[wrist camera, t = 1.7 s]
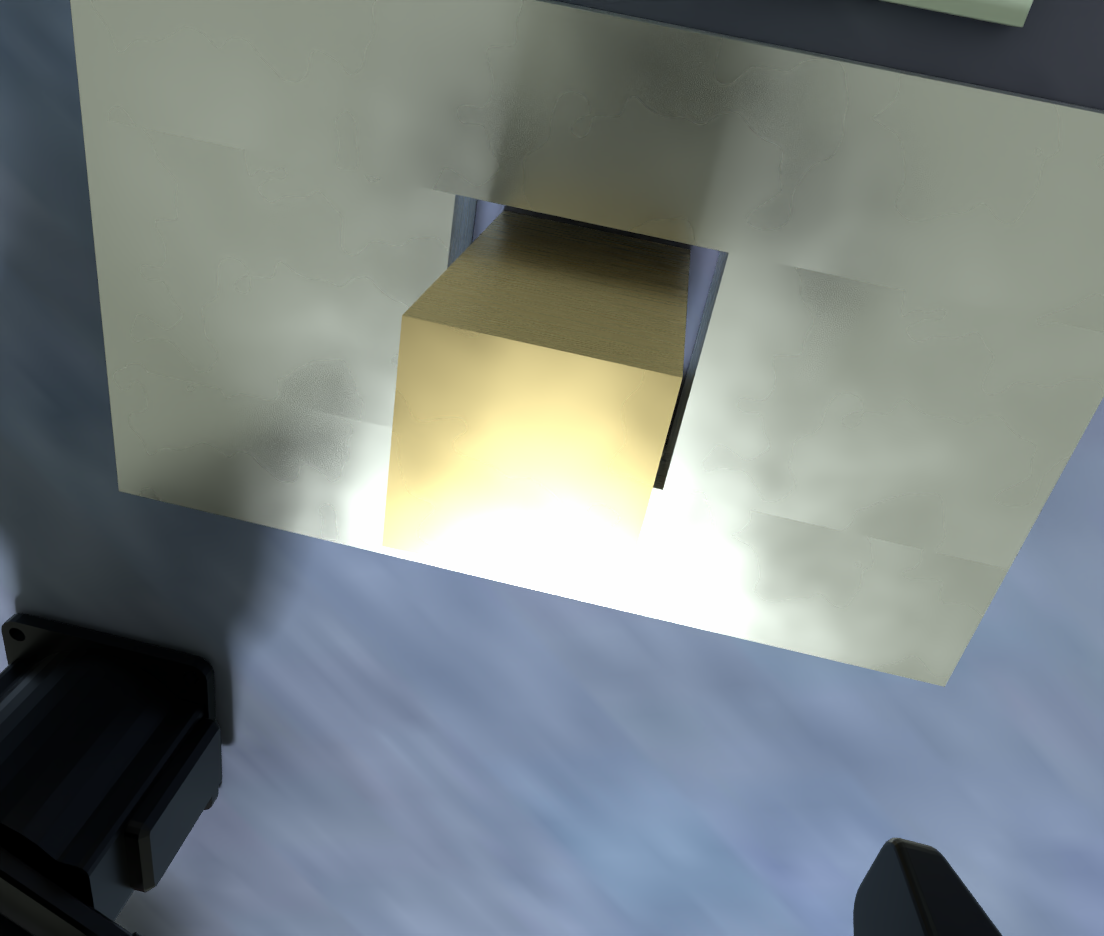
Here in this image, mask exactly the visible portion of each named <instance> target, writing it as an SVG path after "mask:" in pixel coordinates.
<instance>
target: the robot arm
mask: <svg viewBox="0 0 1104 936" xmlns="http://www.w3.org/2000/svg"><path fill="white" fill-rule="evenodd" d="M2 635H3V640H4V645H5V650H6V655H7V660H8V666H7V667H6V668H5V669H4V670H3V671H2V672H1V673H0V936H141V935H140V934H138V933H137V932H135V933H133V934H131V933H130V932H128V931H127V930H125V929H124V928H122V927H121V926H119V925H118V924H116V923H115V922H114V921H115V919H116V918H117V916H118V915H119V913H120V911H121V910H122V908H123V907H124V905H125V904H126V902H127V901H128V899H129V897H130V896H131V894H132V893H133V891H134V890H138V891H142V892H147V891H149V890H151V889H152V888H154V887H155V886H157V884H158V883H159V881H160V879H161V878H162V876H163V874H164V873H165V871H166V870H167V868H168V866H169V865H170V863H171V862H172V860H173V858H174V857H175V855H176V854H177V852H178V850H179V849H180V847H181V845H182V844H183V842H184V841H185V839H186V837H187V836H188V834H189V833H190V831H191V829H192V828H193V826H194V824H195V823H196V821H197V820H198V818H199V816H200V815H201V813H202V812H203V810H207V809H209V808H211V807H212V805H213V804H214V802H215V800H216V799H217V797H218V786H219V784H220V782H221V780H222V763H221V734H220V727H219V725H218V723H217V720H216V715H215V689H214V671H213V668H212V666H211V665H210V664H209V662H207V661H206V660H205V659H203V658H201V657H198V656H194V655H190V654H186V653H182V652H178V651H174V650H170V649H166V648H162V647H158V646H154V645H150V644H146V643H141V642H137V641H133V640H129V639H125V638H121V637H117V636H113V635H109V634H105V633H101V632H97V631H93V630H89V629H85V628H81V627H76V626H72V625H68V624H64V623H60V622H56V621H52V620H48V619H44V618H40V617H36V616H32V615H28V614H23V613H17V614H14V615H13V616H12V617H11V618H9V619H8V620H7V621H6V622H5V623H4V624H3V625H2ZM853 924H854V936H1002V935H1001V933H1000V932H999V930H998V929H997V928H996V926H995V925H994V924H993V922H992V921H991V920H990V918H989V917H988V916H987V914H986V913H985V912H984V910H983V909H982V907H981V906H980V905H979V903H978V902H977V901H976V899H975V898H974V897H973V895H972V894H971V893H970V891H969V890H968V889H967V887H966V886H965V884H964V883H963V882H962V880H961V879H960V878H959V876H958V875H957V874H956V872H955V871H954V870H953V868H952V867H951V866H950V864H949V863H948V861H947V860H946V859H945V857H944V856H943V855H942V854H941V853H940V852H939V851H938V850H937V849H935V848H933V847H931V846H928V845H925V844H921V843H917V842H913V841H909V840H905V839H901V838H892V839H890V840H888V841H886V843H885V844H884V845H883V847H882V848H881V850H880V852H879V854H878V855H877V857H876V859H875V860H874V862H873V864H872V866H871V867H870V869H869V871H868V873H867V874H866V876H865V878H864V879H863V881H862V883H861V885H860V887H859V889H858V891H857V894H856V897H855V903H854V911H853Z"/></svg>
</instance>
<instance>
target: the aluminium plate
mask: <svg viewBox="0 0 1104 936" xmlns="http://www.w3.org/2000/svg"><path fill="white" fill-rule="evenodd" d="M70 3H71V13H72V24H73V34H74V44H75V54H76V64H77V74H78V84H79V94H80V104H81V114H82V124H83V134H84V144H85V154H86V164H87V174H88V185H89V195H90V205H91V215H92V225H93V235H94V245H95V255H96V265H97V275H98V285H99V295H100V305H101V315H102V325H103V335H104V346H105V356H106V366H107V376H108V386H109V396H110V406H111V416H112V426H113V436H114V446H115V456H116V466H117V476H118V486H119V491H120V492H125V493H129V494H133V495H137V496H141V497H146V498H150V499H154V500H158V501H163V502H167V503H171V504H175V505H180V506H184V507H188V508H192V509H196V510H201V511H205V512H209V513H213V514H218V515H222V516H226V517H230V518H234V519H239V520H243V521H247V522H251V523H256V524H260V525H264V526H268V527H272V528H277V529H281V530H285V531H289V532H294V533H298V534H302V535H306V536H310V537H315V538H319V539H323V540H327V541H332V542H336V543H340V544H344V545H348V546H353V547H357V548H361V549H365V550H370V551H374V552H378V553H382V554H386V555H391V556H395V557H399V558H403V559H408V560H412V561H416V562H420V563H425V564H429V565H433V566H437V567H441V568H446V569H450V570H454V571H458V572H463V573H467V574H471V575H475V576H479V577H484V578H488V579H492V580H496V581H501V582H505V583H509V584H513V585H517V586H522V587H526V588H530V589H534V590H539V591H543V592H547V593H551V594H555V595H560V596H564V597H568V598H572V599H577V600H581V601H585V602H589V603H593V604H598V605H602V606H606V607H610V608H615V609H619V610H623V611H627V612H631V613H636V614H640V615H644V616H648V617H653V618H657V619H661V620H665V621H669V622H674V623H678V624H682V625H686V626H691V627H695V628H699V629H703V630H708V631H712V632H716V633H720V634H724V635H729V636H733V637H737V638H741V639H746V640H750V641H754V642H758V643H762V644H767V645H771V646H775V647H779V648H784V649H788V650H792V651H796V652H800V653H805V654H809V655H813V656H817V657H822V658H826V659H830V660H834V661H838V662H843V663H847V664H851V665H855V666H860V667H864V668H868V669H872V670H876V671H881V672H885V673H889V674H893V675H898V676H902V677H906V678H910V679H914V680H919V681H923V682H927V683H931V684H936V685H940V686H944V687H945V685H946V683H947V681H948V680H949V678H950V676H951V674H952V672H953V670H954V669H955V667H956V665H957V663H958V661H959V660H960V658H961V656H962V654H963V652H964V650H965V649H966V647H967V645H968V643H969V641H970V639H971V638H972V636H973V634H974V632H975V630H976V628H977V627H978V625H979V623H980V621H981V619H982V618H983V616H984V614H985V612H986V610H987V608H988V607H989V605H990V603H991V601H992V599H993V597H994V596H995V594H996V592H997V590H998V588H999V587H1000V585H1001V583H1002V581H1003V579H1004V577H1005V576H1006V574H1007V572H1008V570H1009V568H1010V566H1011V565H1012V563H1013V561H1014V559H1015V557H1016V555H1017V554H1018V552H1019V550H1020V548H1021V546H1022V545H1023V543H1024V541H1025V539H1026V537H1027V535H1028V534H1029V532H1030V530H1031V528H1032V526H1033V524H1034V523H1035V521H1036V519H1037V517H1038V515H1039V513H1040V512H1041V510H1042V508H1043V506H1044V504H1045V503H1046V501H1047V499H1048V497H1049V495H1050V493H1051V492H1052V490H1053V488H1054V486H1055V484H1056V482H1057V481H1058V479H1059V477H1060V475H1061V473H1062V471H1063V470H1064V468H1065V466H1066V464H1067V462H1068V461H1069V459H1070V457H1071V455H1072V453H1073V451H1074V450H1075V448H1076V446H1077V444H1078V442H1079V440H1080V439H1081V437H1082V435H1083V433H1084V431H1085V430H1086V428H1087V426H1088V424H1089V422H1090V420H1091V419H1092V417H1093V415H1094V413H1095V411H1096V409H1097V408H1098V406H1099V404H1100V402H1101V400H1102V398H1103V397H1104V110H1099V109H1094V108H1089V107H1084V106H1079V105H1074V104H1069V103H1064V102H1059V101H1054V100H1049V99H1044V98H1039V97H1034V96H1029V95H1024V94H1019V93H1014V92H1009V91H1004V90H999V89H994V88H989V87H984V86H979V85H974V84H969V83H964V82H959V81H954V80H949V79H944V78H939V77H934V76H929V75H924V74H919V73H914V72H909V71H904V70H899V69H894V68H889V67H884V66H879V65H874V64H869V63H864V62H859V61H854V60H849V59H844V58H839V57H834V56H829V55H824V54H819V53H814V52H809V51H804V50H799V49H794V48H789V47H784V46H779V45H774V44H769V43H764V42H759V41H754V40H749V39H744V38H739V37H734V36H729V35H724V34H719V33H714V32H709V31H704V30H699V29H694V28H689V27H684V26H679V25H674V24H669V23H664V22H659V21H654V20H649V19H644V18H639V17H634V16H629V15H624V14H619V13H614V12H609V11H604V10H599V9H594V8H588V7H583V6H578V5H573V4H568V3H563V2H558V1H553V0H70ZM477 199H479V200H484V201H488V202H493V203H498V204H502V205H507V206H512V207H517V208H521V209H526V210H531V211H535V212H540V213H545V214H549V215H554V216H559V217H563V218H568V219H573V220H578V221H582V222H587V223H592V224H596V225H601V226H606V227H610V228H615V229H620V230H624V231H629V232H634V233H639V234H643V235H648V236H653V237H657V238H662V239H667V240H671V241H676V242H681V243H685V244H690V245H695V246H700V247H704V248H709V249H714V250H718V251H720V253H719V257H718V261H717V264H716V268H715V272H714V275H713V279H712V283H711V286H710V290H709V294H708V297H707V301H706V305H705V308H704V312H703V316H702V319H701V323H700V327H699V331H698V334H697V338H696V342H695V345H694V349H693V353H692V356H691V360H690V364H689V367H688V371H687V375H686V378H685V382H684V386H683V389H682V393H681V397H680V400H679V404H678V408H677V411H676V415H675V419H674V422H673V426H672V430H671V433H670V437H669V441H668V444H667V448H666V447H664V448H663V452H662V456H661V459H660V463H659V467H658V470H657V474H656V478H655V481H654V485H653V489H652V493H651V496H650V500H649V504H648V507H647V511H646V515H645V518H644V522H643V526H642V530H641V533H640V537H639V541H638V544H637V548H636V552H635V555H634V559H633V563H632V567H631V570H630V574H629V578H628V581H627V585H626V589H625V592H624V596H623V600H622V603H620V602H615V601H611V600H607V599H603V598H599V597H594V596H590V595H586V594H582V593H578V592H573V591H569V590H565V589H561V588H556V587H552V586H548V585H544V584H540V583H535V582H531V581H527V580H523V579H519V578H514V577H510V576H506V575H502V574H497V573H493V572H489V571H485V570H481V569H476V568H472V567H468V566H464V565H460V564H455V563H451V562H447V561H443V560H438V559H434V558H430V557H426V556H422V555H417V554H413V553H409V552H405V551H401V550H396V549H392V548H388V547H384V546H382V540H383V529H384V517H385V506H386V494H387V483H388V471H389V459H390V448H391V436H392V425H393V413H394V402H395V390H396V379H397V367H398V355H399V344H400V332H401V321H402V315H403V314H404V313H405V312H406V311H407V310H408V309H409V308H410V307H411V306H412V305H413V304H414V303H415V302H416V301H417V299H418V298H419V297H420V296H421V295H422V294H423V293H424V292H425V291H426V290H427V289H428V288H429V287H430V286H431V285H432V284H433V283H434V282H435V281H436V280H437V279H438V278H439V277H440V276H441V275H442V274H443V273H444V272H445V271H446V270H447V269H448V267H449V266H450V265H451V264H452V263H453V262H454V261H455V260H456V259H457V258H458V257H459V256H460V255H461V254H462V253H463V252H464V251H465V250H466V249H467V248H468V247H469V246H470V245H471V242H472V234H473V226H474V218H475V210H476V202H477Z"/></svg>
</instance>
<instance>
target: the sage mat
mask: <svg viewBox="0 0 1104 936" xmlns="http://www.w3.org/2000/svg"><path fill="white" fill-rule="evenodd" d="M880 1H885V2H890V3H895V4H900V5H905V6H910V7H915V8H921V9H926V10H931V11H936V12H941V13H946V14H951V15H956V16H961V17H967V18H972V19H977V20H982V21H987V22H992V23H997V24H1002V25H1007V26H1014V27H1023V25H1024V23H1025V20H1026V18H1027V15H1028V13H1029V10H1030V7H1031V5H1032V2H1033V0H880Z"/></svg>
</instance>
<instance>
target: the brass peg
mask: <svg viewBox="0 0 1104 936" xmlns="http://www.w3.org/2000/svg"><path fill="white" fill-rule="evenodd" d="M689 264H690V250H689V249H685V248H680V247H675V246H670V245H666V244H661V243H656V242H652V241H647V240H642V239H638V238H633V237H628V236H624V235H619V234H614V233H610V232H605V231H600V230H596V229H591V228H586V227H581V226H577V225H572V224H567V223H563V222H558V221H553V220H549V219H544V218H539V217H535V216H530V215H525V214H521V213H516V212H511V211H506V210H504V211H503V212H502V213H501V214H500V215H499V216H498V217H497V218H496V219H495V220H494V221H493V222H492V223H491V224H490V225H489V226H488V227H487V228H486V229H485V230H484V231H483V232H482V233H481V234H480V236H479V237H478V238H477V239H476V240H475V241H474V242H473V243H472V244H471V245H470V246H469V247H468V248H467V249H466V250H465V251H464V252H463V253H462V254H461V255H460V256H459V257H458V258H457V259H456V260H455V261H454V262H453V263H452V264H451V265H450V266H449V267H448V269H447V270H446V271H445V272H444V273H443V274H442V275H441V276H440V277H439V278H438V279H437V280H436V281H435V282H434V283H433V284H432V285H431V286H430V287H429V288H428V289H427V290H426V291H425V292H424V293H423V294H422V295H421V296H420V297H419V298H418V299H417V301H416V302H415V303H414V304H413V305H412V306H411V307H410V308H409V309H408V310H407V311H406V312H405V313H404V314H403V315H402V321H401V332H400V344H399V355H398V367H397V379H396V390H395V402H394V413H393V425H392V436H391V448H390V459H389V471H388V483H387V494H386V506H385V517H384V529H383V540H382V546H384V547H388V548H392V549H396V550H401V551H405V552H409V553H413V554H417V555H422V556H426V557H430V558H434V559H438V560H443V561H447V562H451V563H455V564H460V565H464V566H468V567H472V568H476V569H481V570H485V571H489V572H493V573H497V574H502V575H506V576H510V577H514V578H519V579H523V580H527V581H531V582H535V583H540V584H544V585H548V586H552V587H556V588H561V589H565V590H569V591H573V592H578V593H582V594H586V595H590V596H594V597H599V598H603V599H607V600H611V601H615V602H620V603H622V600H623V596H624V592H625V589H626V585H627V581H628V578H629V574H630V570H631V567H632V563H633V559H634V555H635V552H636V548H637V544H638V541H639V537H640V533H641V530H642V526H643V522H644V518H645V515H646V511H647V507H648V504H649V500H650V496H651V493H652V489H653V485H654V481H655V478H656V474H657V470H658V467H659V463H660V459H661V456H662V452H663V448H664V444H665V441H666V437H667V433H668V430H669V426H670V422H671V419H672V415H673V411H674V407H675V404H676V400H677V396H678V393H679V389H680V385H681V382H682V378H683V362H684V345H685V329H686V313H687V296H688V280H689Z"/></svg>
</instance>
